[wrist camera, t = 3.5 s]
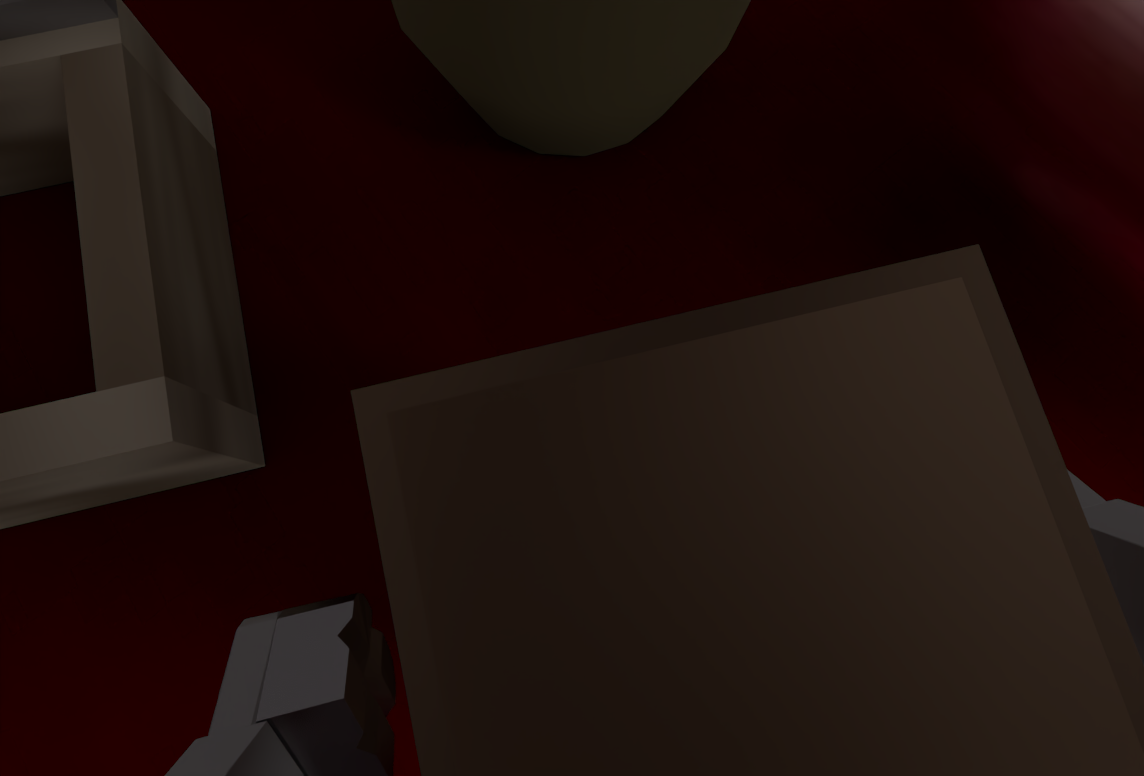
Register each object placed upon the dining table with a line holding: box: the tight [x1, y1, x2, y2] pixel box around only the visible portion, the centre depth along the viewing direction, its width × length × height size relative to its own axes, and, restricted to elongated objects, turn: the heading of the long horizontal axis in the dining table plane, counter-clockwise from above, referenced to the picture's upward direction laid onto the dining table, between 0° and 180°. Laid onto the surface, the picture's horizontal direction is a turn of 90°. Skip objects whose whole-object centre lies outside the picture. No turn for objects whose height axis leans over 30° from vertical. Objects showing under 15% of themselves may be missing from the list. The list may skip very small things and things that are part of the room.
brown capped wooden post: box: [351, 244, 1144, 776], centre depth 10 cm, size 4×4×12 cm
